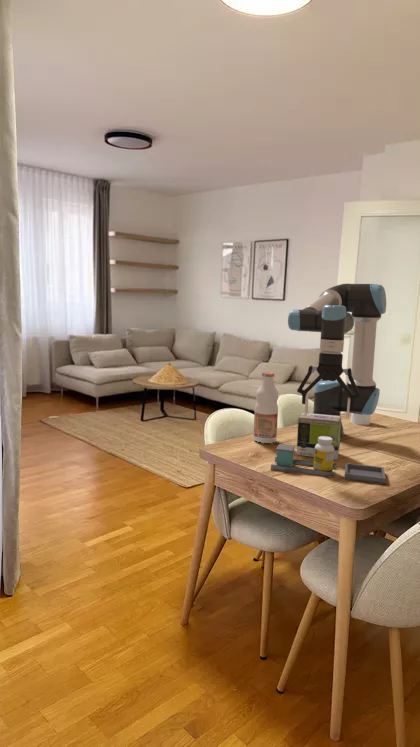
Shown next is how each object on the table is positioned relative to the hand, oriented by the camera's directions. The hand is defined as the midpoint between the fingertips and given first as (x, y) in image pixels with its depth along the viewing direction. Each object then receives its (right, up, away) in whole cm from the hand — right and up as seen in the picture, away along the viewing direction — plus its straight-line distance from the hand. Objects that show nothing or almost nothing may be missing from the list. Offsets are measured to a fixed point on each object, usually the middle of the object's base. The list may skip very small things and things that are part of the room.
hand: (326, 415), depth 168 cm
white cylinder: (+34, -10, +75) cm, 83 cm away
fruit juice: (-17, -14, +37) cm, 43 cm away
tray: (+12, -20, -1) cm, 24 cm away
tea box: (+2, -17, +22) cm, 28 cm away
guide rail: (-7, -19, +5) cm, 20 cm away
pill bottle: (-1, -19, +3) cm, 20 cm away
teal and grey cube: (-13, -18, +7) cm, 23 cm away
